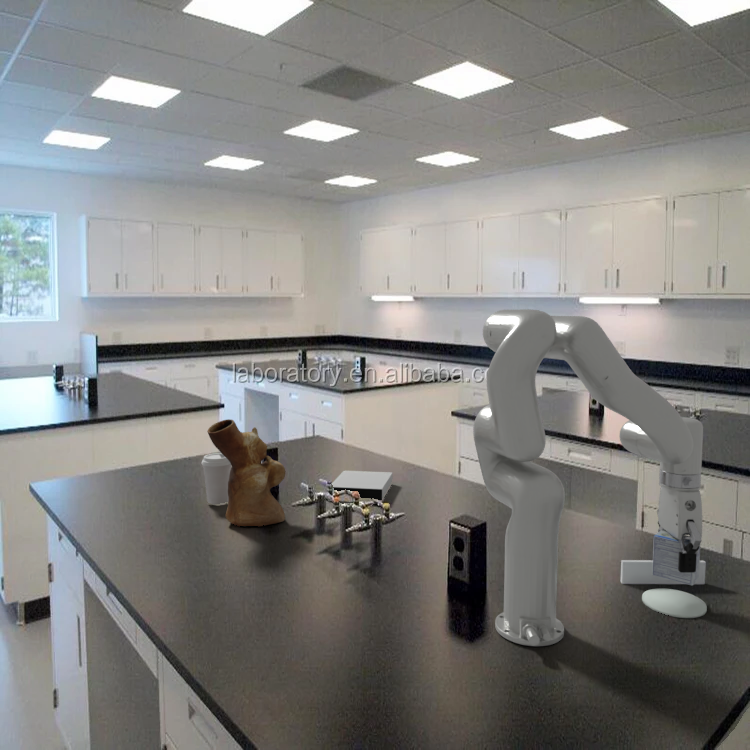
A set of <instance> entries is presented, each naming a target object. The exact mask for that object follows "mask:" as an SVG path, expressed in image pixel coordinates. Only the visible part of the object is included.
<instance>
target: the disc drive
mask: <svg viewBox="0 0 750 750" xmlns="http://www.w3.org/2000/svg"><path fill="white" fill-rule="evenodd" d="M392 480H393V472H390V471H387V472H386V471H370V470H369V471H365V470H363V471H362V470H343V471H342V472H341V473H340V474H339V475H338V476H337V477H336V478H335V479H334V480H333V482H331V484H332V485H333V488H334V490H337V491H341V490H345V489H346V490H350V491H358V492H359V494H360V497H361V498H371V499H372V498H374V499H378V500H382V498H383V496H384V494H385V493H386V491H387V489H388V487H389V486H390V484H391V482H392Z"/></svg>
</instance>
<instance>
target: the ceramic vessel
mask: <svg viewBox="0 0 750 750" xmlns="http://www.w3.org/2000/svg"><path fill="white" fill-rule="evenodd" d="M207 433H208V436H209V438H210V441H211V443H212V445H213V446H214V447H215V448H216V449H217V450H218V451H219V453H222V454H223V455H224V456H225V457H226V458H227V459H228V460H229V462H230V463H231V470H230V475H229V481H228V499H229V500H228V504H227V508H226V512H225V519H226V520H227V521H228V522H229V523H230V524H231V525H233V524H234V525H233V526H236V525H237V526H236V527H240V526H258V527H264V526H268V525H273V524H278V523H281V522H284V521H285V520H286V515H285V511H284V508H283V507H282V505H281V504H280V502H279V501H278V500H277V499H276V498H275V497H274V496H273V495H272V493H271V489H272V488H273V487H277V486H278V485H280V484H281V483H282V481H283V480H284V479H285V478H286V467H284V465H283V464H282V463H281V462H279V461H278V460H274V459H272V457H271V456H269V455H267V450H268V445H267V443H266V442H264V441H263V440H262V439H261V438H260V437H259V432H258V429H257V427H253V428H252V430H251V431H246V432H242V431H241V430H239V428H238V425H237V424H236V422H235V421H234V420H233V419H224V420H220V421H217V422H215V423H213V424H212V425H210V426H209V428H208V429H207ZM263 460H265V461H264V462H263ZM263 525H264V526H263Z"/></svg>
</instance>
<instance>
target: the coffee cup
mask: <svg viewBox="0 0 750 750" xmlns="http://www.w3.org/2000/svg"><path fill="white" fill-rule="evenodd" d="M200 463H201V465H202V468H203V469H202V470H203V476H204V483H205V484H204V485H205V492H206V502H208V503H211V504H220V503H225V502H228V500H229V499H228V481H229V475H230V470H231V467H232V465H231V463H230V462H229V460H228V459H227V458H226V457H225V456H224V455H223V454H222V453H221V452H217V453H210V454H206V455H203V458H202V460H201V462H200ZM208 503H207V504H208Z"/></svg>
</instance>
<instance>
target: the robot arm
mask: <svg viewBox="0 0 750 750" xmlns="http://www.w3.org/2000/svg"><path fill="white" fill-rule="evenodd" d="M482 338H483V340H484V343H485V345H486V346H487V347H488V348H489V349H490V350H492V351H493V352H494V355H493V357H492V359H491V362H490V364H489V367H488V369H487V374H486V391H487V398H488V402H489V404H487V405H485V406H484V407H483V408H481V409H480V410H479V412H478V413H477V415H476V417H475V420H474V422H473V432H472V434H473V441H474V445H475V446H474V447H475V449H476V454H477V458H478V463H479V467H480V470H481V476H482V478H483V483H484V485H485V487H486V490H487V491H488V493H489V495H491V497H492V498H493V499H495V500H496V501H498V502H500V503H501V504H503V505H504V506H507V507H508V508H510V509H511V516H510V518H509V521H508V524H507V526H506V529H505V537H504V580H503V583H504V584H503V585H504V586H503V587H504V588H503V611H502V612H501V613H499V614H498V615H497V616H496V617H495V622H494V623H495V624H494V626H495V629H496V632H497V633H498V634H499V635H500V636H501V637H503V638H504V639H506V640H508V641H509V642H513V643H515V644H518V645H522V646H528V647H547V646H551V645H553V644H557V643H559V641H561V640H562V639H563V638H564V635H565V627H564V624H563V623H562V621H561V620H559V619H558V618H557V587H558V586H557V585H558V582H557V581H558V559H559V558H558V555H559V553H558V548H559V532H560V531H559V530H560V523H561V522H560V521H561V517H562V514H563V513H562V512H563V509H564V505H565V499H566V497H565V496H566V494H565V493H566V492H565V488H564V487H565V486H564V485H563V483H562V481H561V479H560V478H559V476H558V475H556V473H554V472H553V471H551V470H550V469H549V468H547V467H544V466H542V465H540V464H538V463H536V462H533V461H535V460H536V459H538V458H540V456H542V454H543V452H544V451H545V448H546V444H547V443H546V439H547V438H546V432H545V427H544V426H545V425H544V422H543V417H542V413H541V409H540V403H539V400H538V395H537V393H538V392H537V387H536V379H537V378H536V376H537V372H538V369H539V367H540V364H541V363H542V361H543V360H544V359H552V360H560V361H564V362H566V363H567V364H568V365H569V366H570V367H569V368H571V370H572V371H573V372H574V373H575V375H576V376H577V378H578V379H579V380H580V382H581V383H582V384H583V385H584V387H585V389H586V390H587V392H588V393H589V394H590V396H591V397H592V398H593V399H594V401H597V403H599V404H600V405H602V406H604V407H605V408H607V409H608V410H610V411H613V412H614V413H616V414H618V415H620V416H622V417H624V418H626V419H627V420H628V421H626V422H625V423H623V425H622V427H621V428H620V430H619V442H620V444H621V446H622V447H623V448H624V449H625V450H627V452H629V453H632V454H634V455H637V456H640V457H643V458H647V459H650V460H653V461H657V462H659V476H658V477H659V478H658V479H659V481H658V485H659V486H660V489H659V497H658V507H657V510H656V513H657V519H658V521H657V524H658V527H659V528H658V530H657V531H658V532H660V531H661V530H662V531H667V532H668V533H670V534H671V535H672V536H674V537H675V538H676V539H678V540H679V544H680V548H681V552H679V563H678V571H679V572H681V573H691V572H696V556H697V553H698V549H699V547H700V548H701V544H702V543H701V542H702V538H703V504H702V503H703V502H702V495H701V485H702V484H701V482H702V461H703V460H702V459H703V444H704V443H703V441H704V440H703V439H704V425H703V423H702V421H700V420H699V419H696V418H693V417H684V416H681V414H680V413H679V412H678V411H677V409H676V408H675V407H674V406H673V405H672V403H670V402H669V400H667V399H666V398H665V397H664V396H662V395H661V394H660V393H659V392H658V391H656V390H655V389H653V387H651V386H650V385H649V384H648V383H646V382H645V381H644V380H643V379H641V378H639V377H638V376H637V375H636V374H635V373H634V372H633V371H632V369H630V366H628V364H627V362H626V361H625V360H624V358H623V357H622V355H621V354H620V353H619V351H618V350H617V348H616V347H615V345H614V343H613V342H612V341H611V339H610V338H609V337H608V335H607V334H606V333H605V331H604V329H603V328H602V327H601V325H600V324H599V323H598V322H597V321H595V320H594V319H593V318H590V317H586V316H582V315H581V316H580V315H551V314H548V313H547V312H545V311H541V310H540V309H539V310H537V309H529V308H527V309H526V308H525V309H524V308H523V309H501V310H497V311H495V312H493V313H492V314H490V316H489V317H487V319H486V320H485V322H484V324H483V328H482ZM658 532H657V533H658ZM682 535H686V536H690V537H682ZM684 541H690V543H688V544H687V545H686V546H685V542H684ZM699 545H700V546H699Z"/></svg>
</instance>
